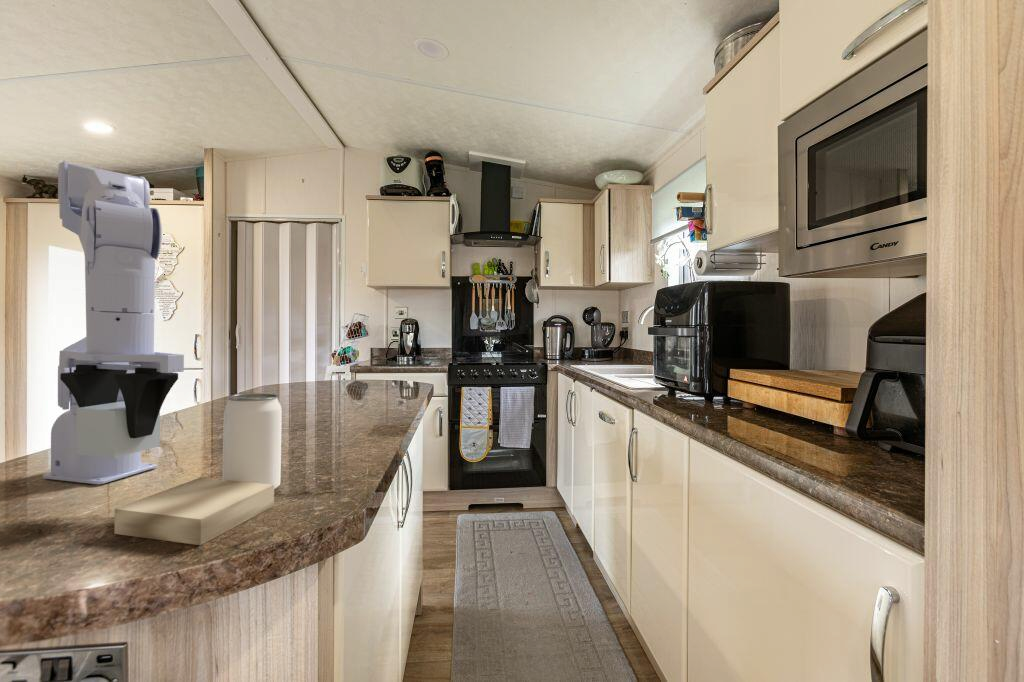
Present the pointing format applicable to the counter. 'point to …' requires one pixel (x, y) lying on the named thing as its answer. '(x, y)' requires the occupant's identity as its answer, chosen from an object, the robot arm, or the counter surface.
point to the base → (194, 510)
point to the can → (252, 439)
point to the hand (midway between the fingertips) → (120, 434)
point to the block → (110, 432)
